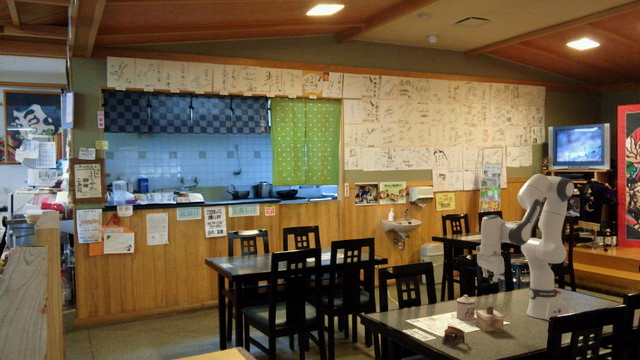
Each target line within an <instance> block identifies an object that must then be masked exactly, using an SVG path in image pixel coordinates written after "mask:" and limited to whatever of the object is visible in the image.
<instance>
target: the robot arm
mask: <svg viewBox="0 0 640 360" xmlns="http://www.w3.org/2000/svg"><path fill="white" fill-rule="evenodd" d="M575 188H576V187H575V183H574V182H573V180H572V179H569V178H567V177H561V176H555V175H544V174H542V173H536V174H534V175H532V176H531V177H530V178H529V179H528V180H527V181H525V183H524V184H523V186H522V187H521V188H520V189H519V191H518V192H517V196H516V198H517V202H518V203H519V206H521V208H523V209H524V210H526V211H525V214H524V216H523V217H522V220H521V221H518V222H509V221H506V220H503V219H502V218H501V217H500V216H499V215H497V214H491V215H485V216H483V218H482V220H481V225H480V236H481V240H480V245H478V246H476V262H477V265H478V266H479V267H481V270H482V274H483V275H482V277H483V278H488V277H489V273H488V271H490V272H493V277H492V282H494V283H498V282H499V276H500V274H501V275H503V274H504V273H505V261H504V257H503V256H502V254H501V251H502V250H501V249H502V248H501V247H502V246H501V245H502V244H501V242H503V243H508V244H513V245H517V246H520V251H521V253H522V254H523V255H524V257H525V259H526V261H527V264H528V267H529V272H530V275H529V277H530V286H529V293H528V294H529V301H528V302H529V303H528V306H527V311H526V315H527V316H530V317H531V318H536V319H542V320H546V321H550V320H549V318H550V317H551V316H556V315H563V314H569V313H570V307H569V306H568V303H567V302H565V301H564V299H561V298H560V297H559V296H558V295H561V294H562V290H559V289H556V288H555V274H554V271H553V270H552V269H551V267H550V265H549V264H561V263H563V262H564V261H565V259H566V257H567V249H566V247H565V246H564V244H563V241H562V232H563V231H562V230H563V226H564V221H565V218H566V214H567V210H568V209H567V208H568V200H569V199H570V198H571V197H572V196H573V194H574V193H575ZM545 198H546V200H545V202H544V203H543V204H542V201H543V199H545ZM538 219H539V221H538ZM537 221H538V223H537ZM536 223H537V225H538V229H539V230H540V232H541V238H537V237H531V236H532V231H533V229H534V227H535V225H536Z"/></svg>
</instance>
